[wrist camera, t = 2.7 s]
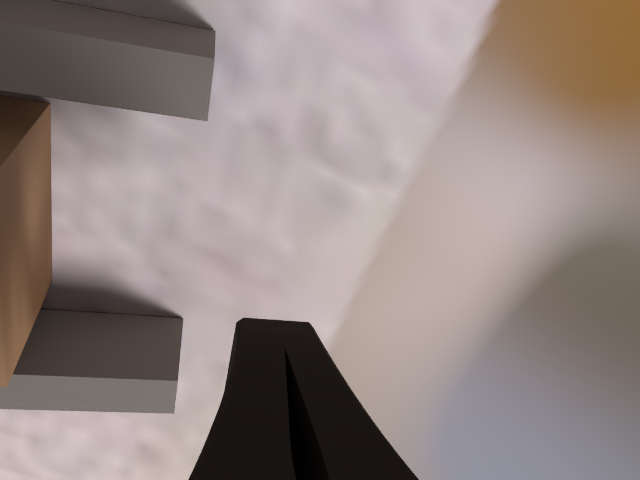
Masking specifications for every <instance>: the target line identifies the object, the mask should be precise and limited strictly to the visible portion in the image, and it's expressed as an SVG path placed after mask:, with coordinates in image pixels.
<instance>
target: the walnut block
mask: <svg viewBox="0 0 640 480" xmlns="http://www.w3.org/2000/svg"><path fill="white" fill-rule="evenodd" d="M51 282H52V213H51V107H50V103H46V102H39V101H33V100H27V99H21V98H15V97H9V96H3V95H0V387H7V386H8V383H9V381H10V379H11V376H12V374H13V372H14V369H15V367H16V365H17V362H18V360H19V358H20V355H21V353H22V351H23V348H24V346H25V344H26V341H27V339H28V337H29V334H30V332H31V329H32V327H33V325H34V322H35V320H36V318H37V315H38V313H39V311H40V308H41V306H42V304H43V301H44V299H45V297H46V294H47V292H48V290H49V287H50V285H51Z"/></svg>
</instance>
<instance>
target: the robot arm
mask: <svg viewBox="0 0 640 480" xmlns="http://www.w3.org/2000/svg"><path fill="white" fill-rule="evenodd" d="M189 480H419V479H418V478H417V477H416V476H415V475H414V473H413V472H412V471H411V470H410V468H409V467H408V466H407V465H406V464H405V462H404V461H403V460H402V459H401V458H400V456H399V455H398V454H397V452H396V451H395V450H394V449H393V447H392V446H391V445H390V443H389V442H388V441H387V439H386V438H385V437H384V436H383V434H382V433H381V431H380V430H379V429H378V427H377V426H376V425H375V423H374V422H373V420H372V419H371V418H370V416H369V415H368V413H367V412H366V410H365V409H364V408H363V406H362V405H361V403H360V402H359V400H358V399H357V398H356V396H355V395H354V393H353V392H352V390H351V389H350V387H349V386H348V384H347V382H346V381H345V379H344V378H343V376H342V375H341V373H340V372H339V370H338V368H337V367H336V365H335V364H334V362H333V360H332V359H331V357H330V355H329V354H328V352H327V350H326V349H325V347H324V345H323V344H322V342H321V340H320V338H319V337H318V335H317V333H316V332H315V330H314V328H313V327H312V325H311V324H310V323H309V322H297V321H283V320H268V319H254V318H243V319H241V320H239V321H238V322H236V328H235V334H234V339H233V345H232V351H231V357H230V362H229V368H228V374H227V380H226V385H225V391H224V395H223V398H222V401H221V404H220V407H219V410H218V412H217V415H216V417H215V420H214V422H213V425H212V427H211V430H210V432H209V435H208V437H207V440H206V442H205V445H204V447H203V449H202V452H201V454H200V456H199V458H198V461H197V463H196V465H195V467H194V469H193V471H192V474H191V476H190V478H189Z"/></svg>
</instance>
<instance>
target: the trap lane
mask: <svg viewBox="0 0 640 480" xmlns="http://www.w3.org/2000/svg"><path fill="white" fill-rule="evenodd" d="M214 55H215V31H214V30H209V29H204V28H198V27H193V26H188V25H182V24H177V23H172V22H166V21H161V20H156V19H150V18H145V17H140V16H134V15H129V14H124V13H118V12H113V11H107V10H102V9H97V8H91V7H86V6H81V5H75V4H70V3H65V2H59V1H54V0H0V90H1V91H8V92H14V93H21V94H28V95H35V96H41V97H48V98H55V99H61V100H68V101H75V102H82V103H88V104H95V105H102V106H109V107H115V108H122V109H129V110H135V111H142V112H149V113H156V114H162V115H169V116H176V117H183V118H189V119H196V120H203V121H207V119H208V111H209V102H210V93H211V84H212V75H213V67H214ZM182 326H183V318H170V317H155V316H140V315H125V314H109V313H94V312H79V311H64V310H48V309H40V311H39V313H38V315H37V318H36V320H35V322H34V325H33V327H32V329H31V332H30V334H29V337H28V339H27V341H26V344H25V346H24V348H23V351H22V353H21V355H20V358H19V360H18V362H17V365H16V367H15V369H14V372H13V374H12V376H11V379H10V381H9V383H8V386H7V387H0V409H23V410H61V411H99V412H137V413H174V409H175V400H176V391H177V383H178V372H179V360H180V349H181V337H182Z"/></svg>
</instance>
